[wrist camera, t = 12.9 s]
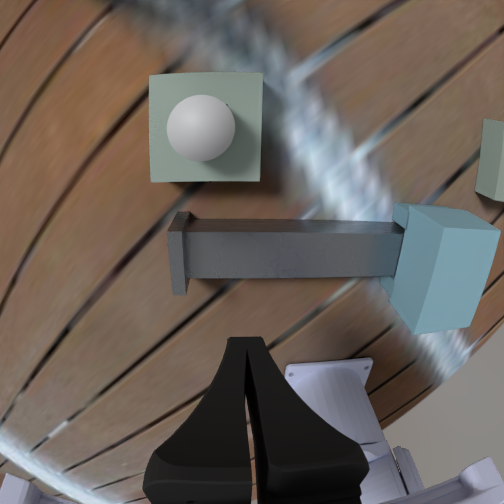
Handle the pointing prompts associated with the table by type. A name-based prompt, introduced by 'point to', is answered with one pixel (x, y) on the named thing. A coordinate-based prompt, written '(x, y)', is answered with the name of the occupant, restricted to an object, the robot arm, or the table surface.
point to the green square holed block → (491, 161)
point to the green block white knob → (205, 126)
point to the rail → (280, 249)
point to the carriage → (440, 266)
